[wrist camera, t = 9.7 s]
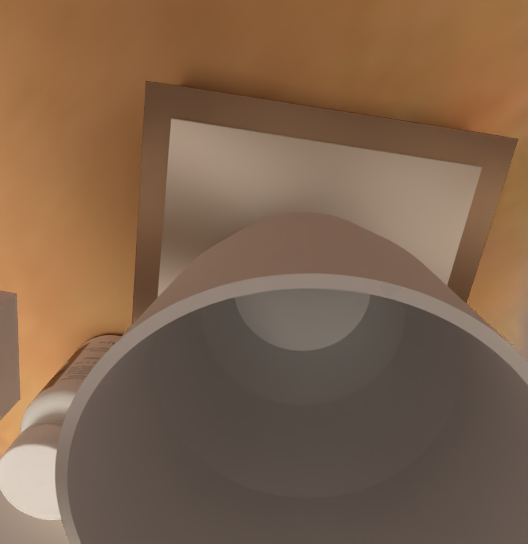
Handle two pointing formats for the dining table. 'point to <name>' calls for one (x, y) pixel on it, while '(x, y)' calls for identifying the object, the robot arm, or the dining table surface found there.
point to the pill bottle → (46, 435)
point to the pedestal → (307, 180)
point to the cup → (300, 405)
